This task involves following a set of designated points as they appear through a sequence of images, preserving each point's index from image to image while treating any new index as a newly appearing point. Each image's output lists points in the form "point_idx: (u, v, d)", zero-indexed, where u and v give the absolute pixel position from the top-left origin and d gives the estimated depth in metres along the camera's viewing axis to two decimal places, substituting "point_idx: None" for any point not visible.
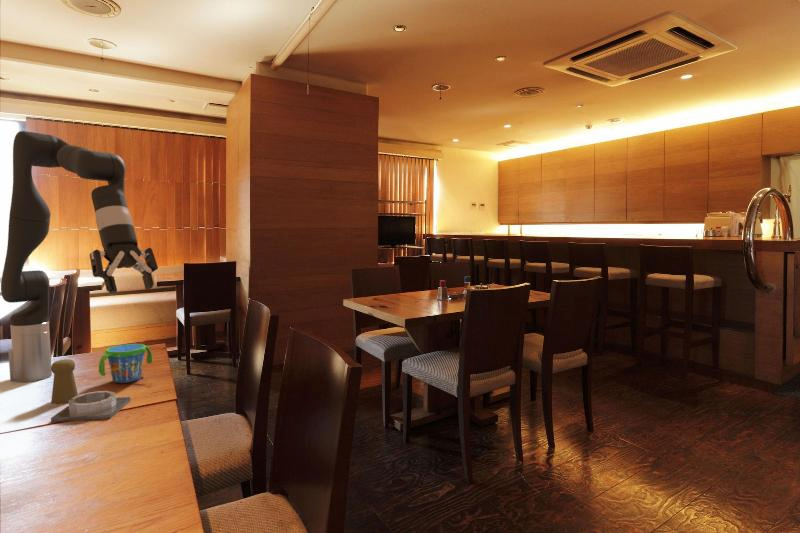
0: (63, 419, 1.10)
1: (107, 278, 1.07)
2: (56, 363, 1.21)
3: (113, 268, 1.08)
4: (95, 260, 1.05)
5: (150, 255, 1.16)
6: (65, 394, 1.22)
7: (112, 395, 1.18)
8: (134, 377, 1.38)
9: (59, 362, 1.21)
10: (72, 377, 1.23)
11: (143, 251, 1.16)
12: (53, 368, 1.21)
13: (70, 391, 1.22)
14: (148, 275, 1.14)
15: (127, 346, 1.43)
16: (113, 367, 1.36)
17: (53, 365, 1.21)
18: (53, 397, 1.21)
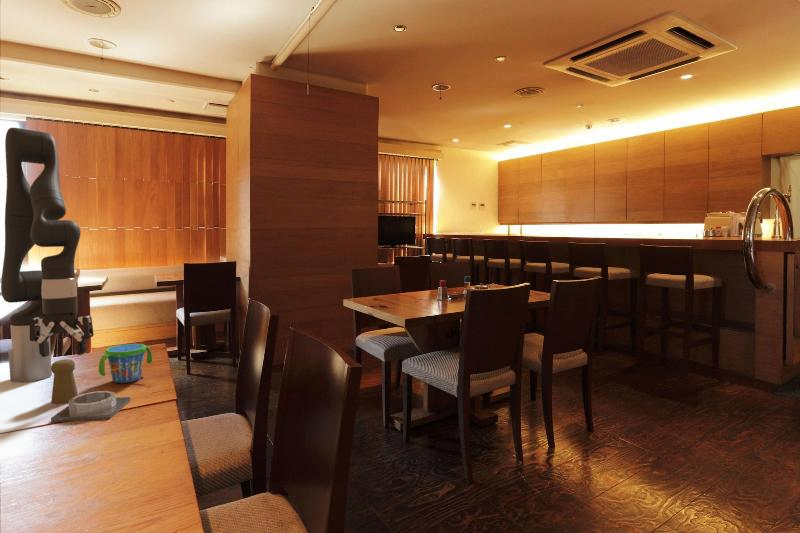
0: (63, 419, 1.10)
1: (39, 344, 1.21)
2: (56, 363, 1.21)
3: (44, 336, 1.20)
4: None
5: (84, 324, 1.22)
6: (65, 394, 1.22)
7: (112, 395, 1.18)
8: (134, 377, 1.38)
9: (59, 362, 1.21)
10: (72, 377, 1.23)
11: (80, 319, 1.22)
12: (53, 368, 1.21)
13: (70, 391, 1.22)
14: (78, 343, 1.22)
15: (127, 346, 1.43)
16: (113, 367, 1.36)
17: (53, 365, 1.21)
18: (53, 397, 1.21)
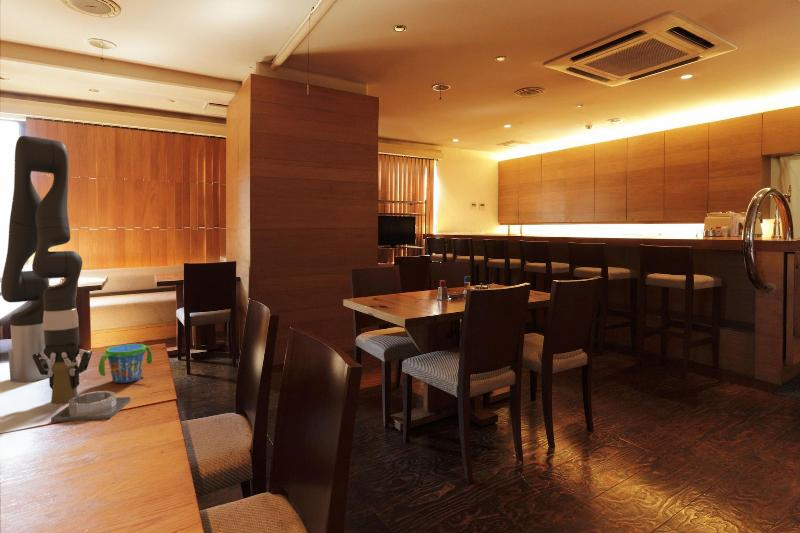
0: (63, 419, 1.10)
1: (49, 377, 1.22)
2: (56, 362, 1.21)
3: None
4: None
5: (82, 359, 1.23)
6: (65, 394, 1.21)
7: (112, 395, 1.18)
8: (134, 377, 1.38)
9: (59, 362, 1.21)
10: None
11: (81, 352, 1.23)
12: (53, 368, 1.21)
13: (70, 391, 1.22)
14: (71, 378, 1.23)
15: (127, 346, 1.43)
16: (113, 367, 1.36)
17: (53, 365, 1.21)
18: (53, 397, 1.21)
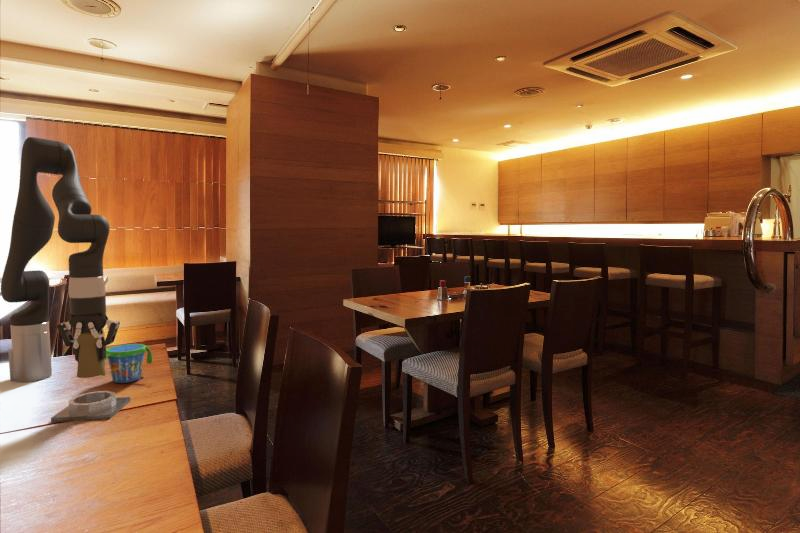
0: (63, 419, 1.10)
1: (75, 349, 1.14)
2: (82, 333, 1.13)
3: None
4: None
5: (110, 330, 1.15)
6: (92, 367, 1.14)
7: (112, 395, 1.18)
8: (134, 377, 1.38)
9: (85, 333, 1.14)
10: None
11: (109, 322, 1.15)
12: (79, 339, 1.13)
13: (96, 364, 1.15)
14: (97, 350, 1.15)
15: (127, 346, 1.43)
16: (113, 367, 1.36)
17: (79, 336, 1.13)
18: (79, 370, 1.13)
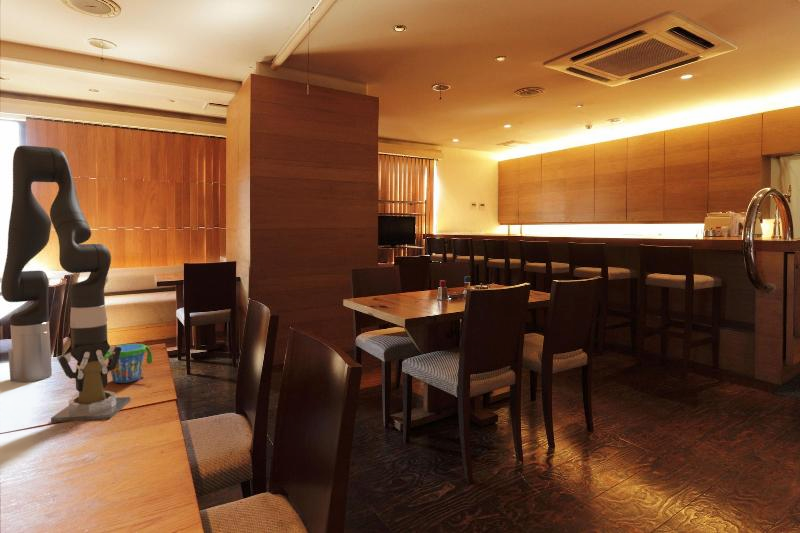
0: (63, 419, 1.10)
1: (77, 380, 1.13)
2: (89, 362, 1.14)
3: None
4: (63, 367, 1.11)
5: (115, 354, 1.19)
6: (100, 394, 1.16)
7: (112, 395, 1.18)
8: (134, 377, 1.38)
9: (91, 361, 1.15)
10: None
11: (112, 348, 1.19)
12: (88, 368, 1.13)
13: (103, 390, 1.17)
14: (103, 376, 1.17)
15: (127, 346, 1.43)
16: None
17: (86, 365, 1.14)
18: (87, 399, 1.14)
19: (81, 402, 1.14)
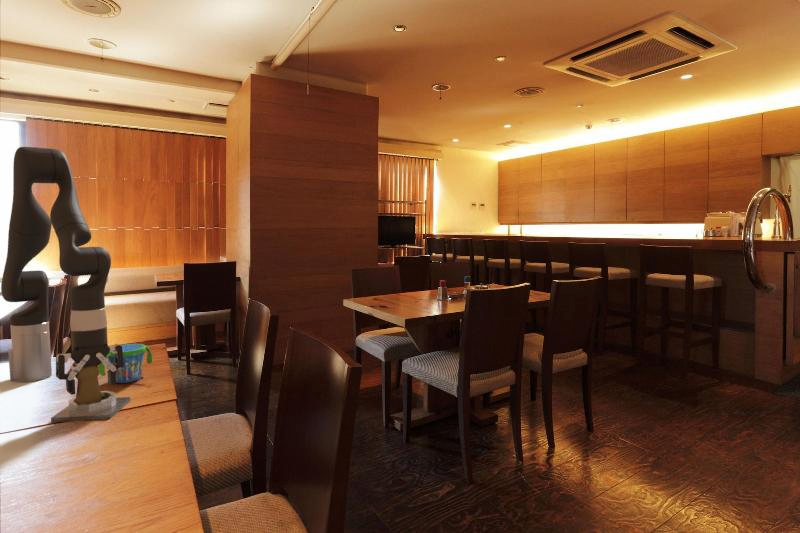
0: (63, 419, 1.10)
1: (68, 381, 1.12)
2: (85, 368, 1.14)
3: (75, 372, 1.12)
4: (58, 366, 1.10)
5: (118, 353, 1.19)
6: (97, 399, 1.15)
7: (112, 395, 1.18)
8: (134, 377, 1.38)
9: (88, 367, 1.14)
10: None
11: (113, 348, 1.19)
12: (84, 373, 1.13)
13: (100, 396, 1.16)
14: (111, 374, 1.18)
15: (127, 346, 1.43)
16: None
17: (83, 371, 1.13)
18: None
19: None
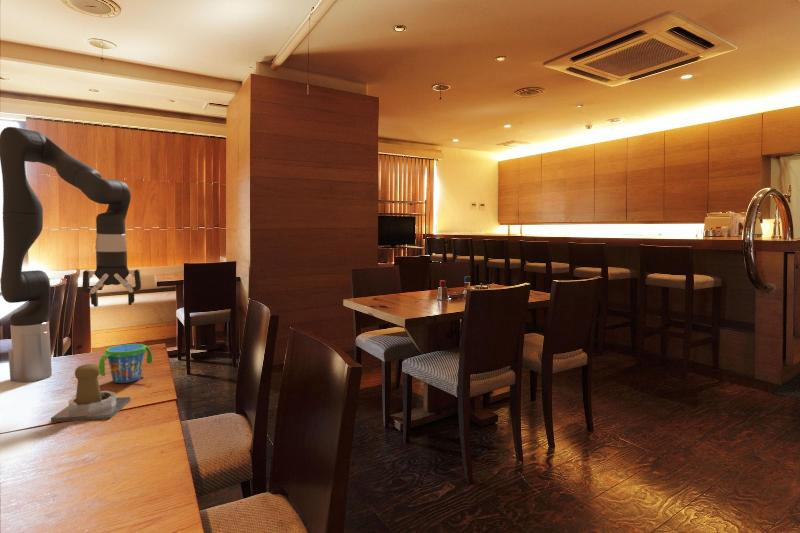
0: (63, 419, 1.10)
1: (91, 294, 1.30)
2: (85, 368, 1.14)
3: (97, 287, 1.30)
4: (83, 279, 1.28)
5: (135, 277, 1.33)
6: (97, 399, 1.15)
7: (112, 395, 1.18)
8: (134, 377, 1.38)
9: (88, 367, 1.14)
10: None
11: (131, 272, 1.34)
12: (84, 373, 1.13)
13: (100, 396, 1.16)
14: (129, 294, 1.33)
15: (127, 346, 1.43)
16: (113, 367, 1.36)
17: (83, 371, 1.13)
18: None
19: None
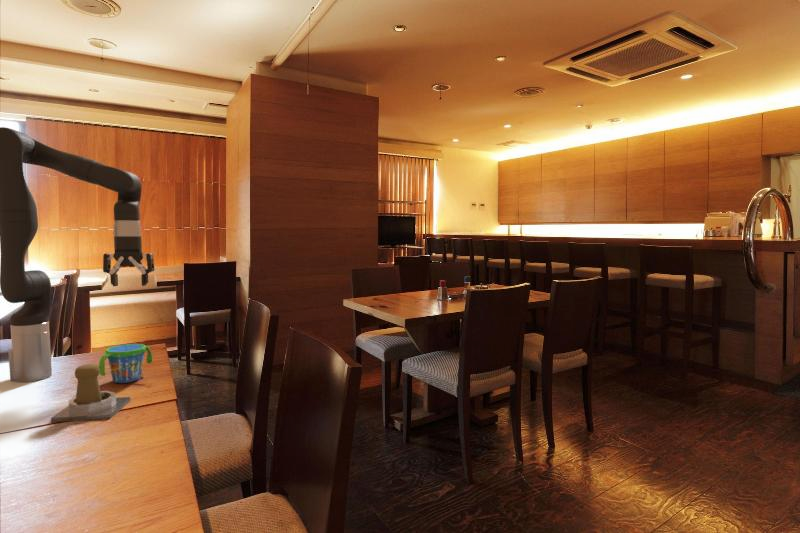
0: (63, 419, 1.10)
1: (110, 275, 1.45)
2: (85, 368, 1.14)
3: (115, 269, 1.44)
4: None
5: (147, 260, 1.46)
6: (97, 399, 1.15)
7: (112, 395, 1.18)
8: (134, 377, 1.38)
9: (88, 367, 1.14)
10: None
11: (144, 255, 1.46)
12: (84, 373, 1.13)
13: (100, 396, 1.16)
14: (142, 276, 1.46)
15: (127, 346, 1.43)
16: (113, 367, 1.36)
17: (83, 371, 1.13)
18: None
19: None
